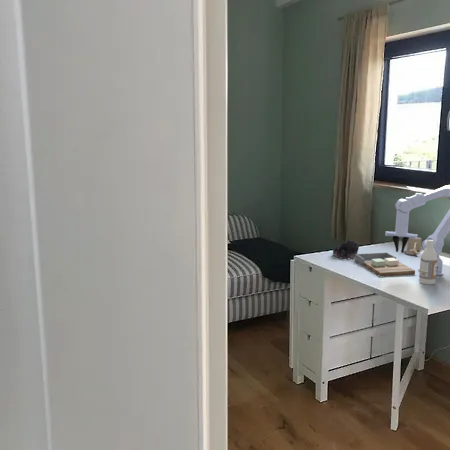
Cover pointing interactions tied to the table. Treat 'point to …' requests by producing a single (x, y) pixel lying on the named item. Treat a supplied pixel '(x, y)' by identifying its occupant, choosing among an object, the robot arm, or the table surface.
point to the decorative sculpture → (413, 246)
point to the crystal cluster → (346, 250)
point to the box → (371, 257)
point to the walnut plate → (390, 269)
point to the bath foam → (428, 264)
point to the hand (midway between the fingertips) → (399, 251)
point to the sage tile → (378, 262)
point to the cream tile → (391, 261)
